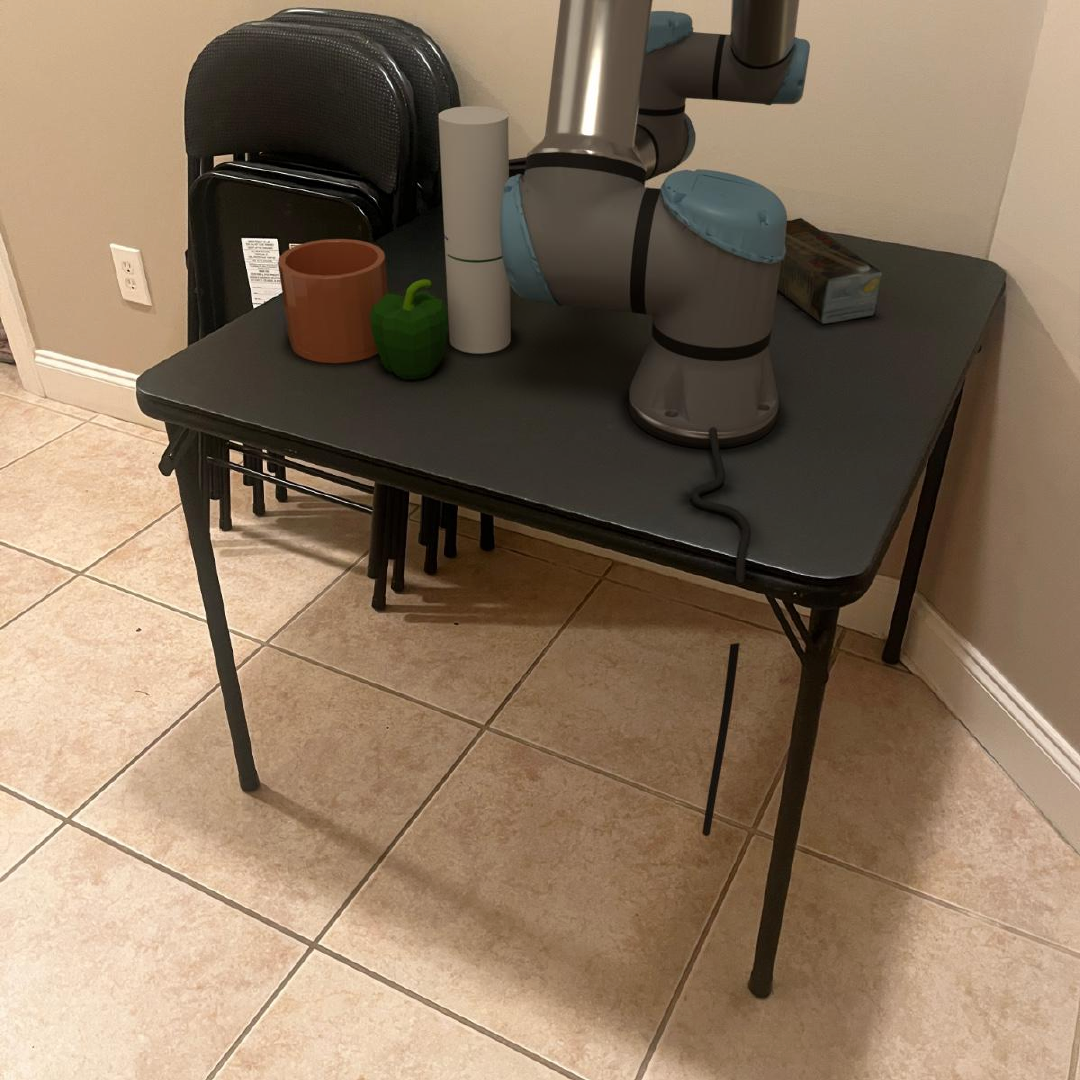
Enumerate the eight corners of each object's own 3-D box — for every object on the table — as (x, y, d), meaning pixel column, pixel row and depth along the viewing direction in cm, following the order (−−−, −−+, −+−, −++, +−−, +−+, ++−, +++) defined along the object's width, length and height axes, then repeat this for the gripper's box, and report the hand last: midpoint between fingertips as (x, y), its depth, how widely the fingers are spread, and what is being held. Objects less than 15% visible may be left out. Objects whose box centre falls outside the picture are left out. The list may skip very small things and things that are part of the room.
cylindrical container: (500, 323, 123) (496, 104, 108) (518, 348, 118) (517, 121, 103) (443, 331, 121) (431, 109, 106) (458, 357, 116) (448, 126, 101)
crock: (393, 360, 115) (386, 275, 109) (288, 366, 114) (275, 280, 108) (390, 317, 124) (383, 236, 118) (292, 322, 123) (280, 241, 117)
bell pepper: (378, 390, 109) (369, 302, 103) (372, 356, 116) (364, 271, 110) (456, 383, 111) (451, 296, 105) (446, 350, 117) (442, 266, 111)
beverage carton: (818, 326, 123) (828, 274, 119) (742, 268, 138) (749, 220, 134) (875, 317, 125) (886, 265, 121) (795, 261, 140) (802, 213, 136)
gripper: (696, 213, 125) (600, 265, 111) (533, 174, 137) (427, 217, 123) (702, 149, 121) (603, 196, 107) (533, 115, 132) (424, 153, 119)
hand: (509, 207), depth 115 cm, fingers open, 13 cm apart
